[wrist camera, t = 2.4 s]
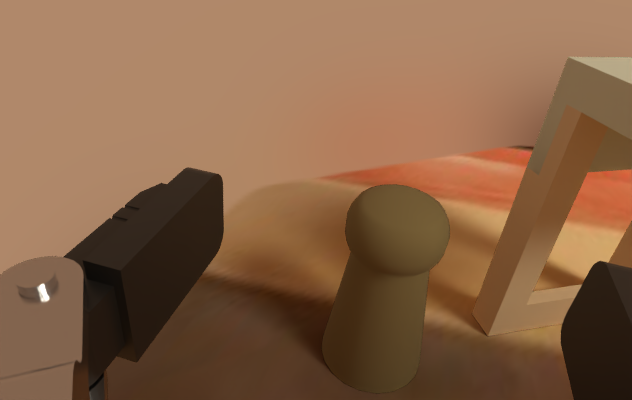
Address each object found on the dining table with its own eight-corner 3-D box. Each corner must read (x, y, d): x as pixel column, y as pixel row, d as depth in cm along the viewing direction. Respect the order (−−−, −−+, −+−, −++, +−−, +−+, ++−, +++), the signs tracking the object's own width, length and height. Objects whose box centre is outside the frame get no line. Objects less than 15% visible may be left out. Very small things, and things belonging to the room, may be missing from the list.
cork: (343, 405, 25) (374, 247, 19) (308, 323, 30) (323, 175, 24) (438, 378, 27) (492, 227, 21) (391, 305, 32) (424, 164, 26)
